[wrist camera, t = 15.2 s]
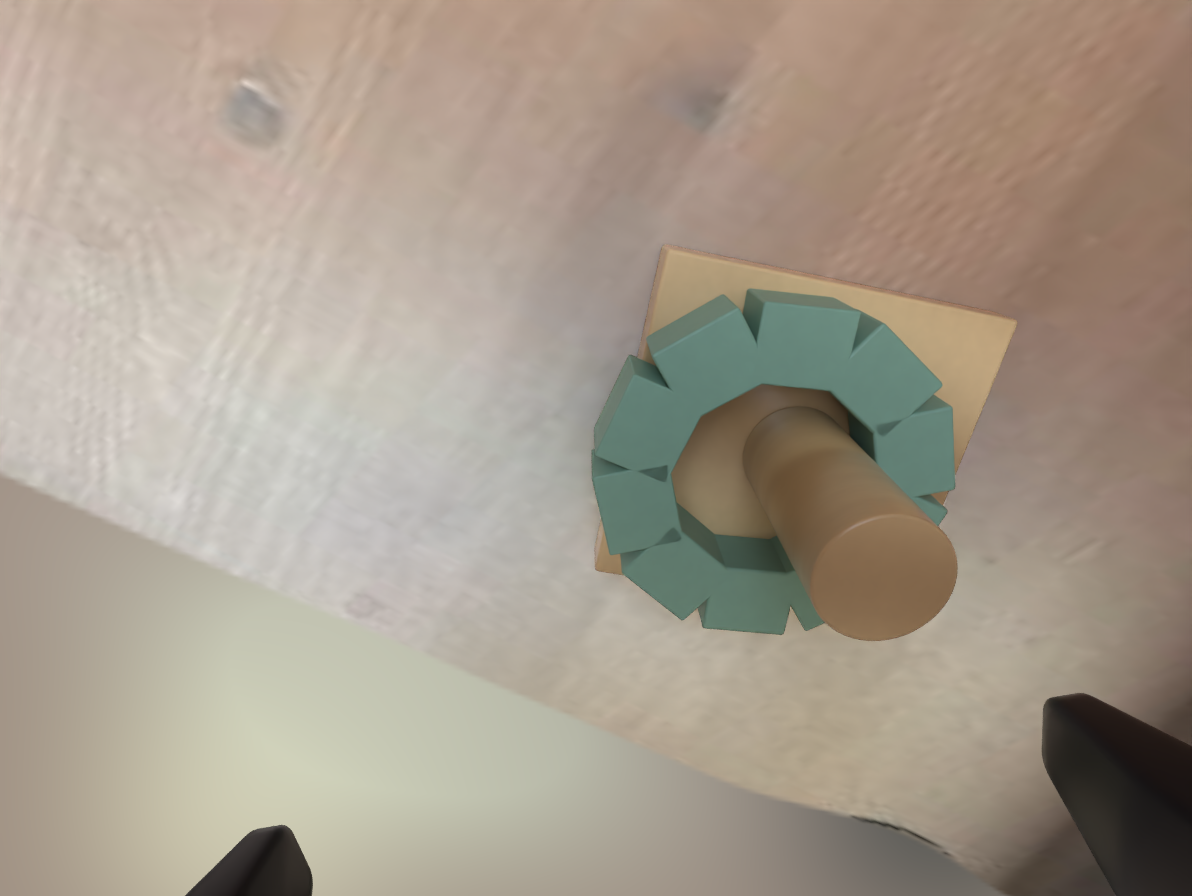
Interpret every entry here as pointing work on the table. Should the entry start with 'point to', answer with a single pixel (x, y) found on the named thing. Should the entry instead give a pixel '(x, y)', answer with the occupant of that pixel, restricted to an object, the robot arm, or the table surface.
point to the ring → (720, 374)
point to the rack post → (826, 451)
